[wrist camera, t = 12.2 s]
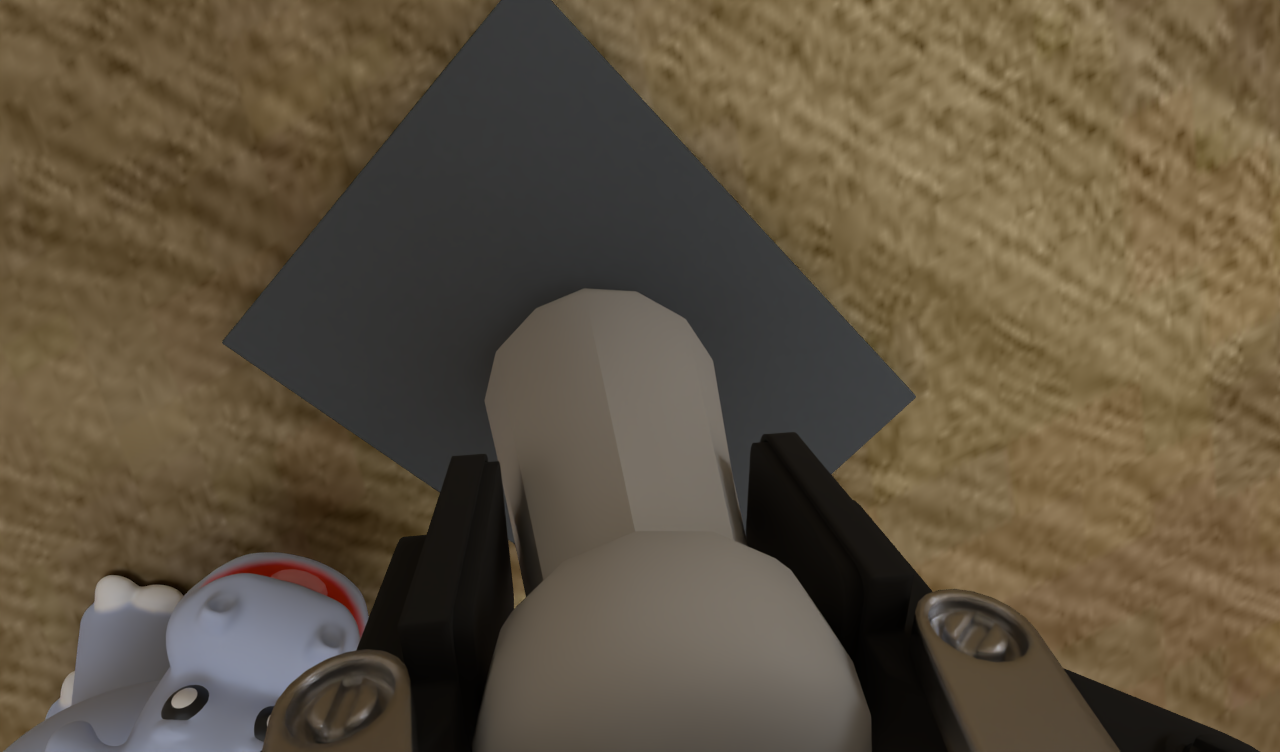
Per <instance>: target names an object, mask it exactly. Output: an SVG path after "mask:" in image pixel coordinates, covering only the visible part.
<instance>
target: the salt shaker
mask: <svg viewBox="0 0 1280 752" xmlns="http://www.w3.org/2000/svg"><path fill="white" fill-rule="evenodd" d="M484 401H485V406H486V410H487V414H488V419H489V423H490V427H491V432H492V436H493V441H494V445H495V449H496V454H497V459H498V461H499V462H500V467H501V476H502V483H503V488H504V493H505V497H506V502H507V507H508V512H509V517H510V522H511V526H512V531H513V536H514V541H515V546H516V550H517V555H518V560H519V565H520V570H521V574H522V579H523V584H524V589H525V594H526V598H525V599H524V600H523V601H522V602H521V603H520V604H519V605H518V606H517V607H516V608H515V609H514V610H513V611H512V612H511V613H510V615H509V617H508V618H507V620H506V621H505V623H504V625H503V626H502V628H501V629H500V633H499V636H498V640H497V643H496V647H495V650H494V654H493V657H492V661H491V664H490V668H489V671H488V675H487V678H486V682H485V685H484V690H483V696H482V701H481V704H480V708H479V711H478V716H477V721H476V726H475V731H474V736H473V741H472V752H872V739H871V714H870V711H869V708H868V705H867V702H866V699H865V696H864V693H863V690H862V687H861V685H860V682H859V679H858V676H857V673H856V670H855V667H854V664H853V661H852V660H851V658H850V657H849V655H848V654H847V652H846V650H845V649H844V647H843V646H842V644H841V643H840V641H839V640H838V638H837V636H836V635H835V633H834V632H833V630H832V629H831V627H830V626H829V624H828V622H827V621H826V619H825V618H824V617H823V615H822V614H821V612H820V611H819V609H818V608H817V607H816V605H815V604H814V602H813V601H812V599H811V598H810V597H809V595H808V594H807V592H806V591H805V589H804V588H803V586H802V585H801V584H800V582H799V581H798V579H797V578H796V576H795V575H794V574H793V572H792V571H791V570H790V569H789V568H787V567H786V566H785V565H783V564H782V563H781V562H779V561H778V560H777V559H775V558H773V557H771V556H769V555H766V554H764V553H762V552H759V551H757V550H755V549H753V548H750V547H748V544H747V540H746V535H745V530H744V526H743V521H742V517H741V512H740V507H739V503H738V498H737V493H736V489H735V484H734V480H733V475H732V470H731V464H730V458H729V452H728V446H727V440H726V434H725V428H724V422H723V417H722V411H721V405H720V399H719V393H718V387H717V381H716V375H715V369H714V363H713V360H712V358H711V357H710V355H709V354H708V352H707V350H706V349H705V347H704V346H703V344H702V343H701V341H700V340H699V338H698V337H697V335H696V334H695V332H694V331H693V329H692V328H691V326H690V325H689V323H688V322H687V320H686V319H685V318H683V317H681V316H680V315H678V314H676V313H674V312H672V311H671V310H669V309H667V308H665V307H663V306H662V305H660V304H658V303H656V302H654V301H653V300H651V299H649V298H647V297H645V296H644V295H642V294H640V293H638V292H636V291H621V290H604V289H586V288H584V289H581V290H579V291H576V292H574V293H571V294H569V295H567V296H564V297H562V298H559V299H557V300H555V301H552V302H550V303H547V304H545V305H543V306H540V307H538V308H536V309H535V310H534V311H533V312H532V313H531V314H530V315H529V316H528V317H527V318H526V320H525V321H524V322H523V323H522V324H521V325H520V326H519V327H518V328H517V329H516V330H515V331H514V333H513V334H512V335H511V336H510V337H509V338H508V339H507V340H506V341H505V342H504V343H503V344H502V346H501V347H500V348H499V349H498V350H497V351H496V354H495V358H494V362H493V366H492V371H491V375H490V379H489V383H488V388H487V392H486V396H485V400H484Z"/></svg>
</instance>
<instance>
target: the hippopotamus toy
mask: <svg viewBox="0 0 1280 752" xmlns="http://www.w3.org/2000/svg"><path fill="white" fill-rule="evenodd" d="M368 618H369V617H368V611H367V606H366V603H365V600H364V597H363V595H362V594H361V592H360V590H359V589H358V588H357V587H356V586H355V585H354V584H353V583H352V582H351V581H350V580H349V579H348V578H347V577H345V576H344V575H343V574H341V573H340V572H338V571H336V570H335V569H333V568H331V567H329V566H327V565H325V564H323V563H320V562H318V561H315V560H312V559H309V558H306V557H302V556H297V555H292V554H286V553H277V552H262V553H252V554H247V555H244V556H241V557H238V558H236V559H233V560H231V561H229V562H227V563H226V564H224V565H222V566H220V567H219V568H217V569H215V570H214V571H213V572H211V573H210V574H209V575H208V576H206V577H205V578H204V579H202V580H201V581H200V582H198V583H197V584H196V585H195V586H193V587H192V588H191V589H190V590H189V591H188V592H187V593H186V594H185V595H184V596H183V594H182V593H181V592H180V591H178V590H177V589H175V588H173V587H170V586H166V585H149V586H144V587H141V586H138V585H137V584H135V583H134V582H133V581H131V580H130V579H128V578H125V577H122V576H118V575H109V576H106V577H104V578H102V579H101V580H100V581H99V582H98V584H97V586H96V589H95V602H94V603H93V604H92V605H91V606H89V607H88V609H87V610H86V611H85V613H84V615H83V617H82V620H81V624H80V632H79V640H78V649H77V658H76V667H75V671H73V672H71V673H70V674H69V675H68V676H67V677H66V679H65V680H64V682H63V685H62V688H61V697H60V698H59V699H58V700H57V701H56V702H55V703H54V704H53V705H52V706H51V707H50V709H49V711H48V713H47V716H46V719H45V720H44V721H43V722H41V723H40V724H38V725H37V726H35V727H34V728H32V729H31V730H29V731H28V732H27V733H25V734H24V735H23V736H21V737H20V738H19V739H17V740H16V741H15V742H14V743H13V744H11V745H10V746H9V747H8V748H7V749H6V750H4V751H3V752H260V751H261V750H262V748H263V744H264V739H265V735H266V731H267V726H268V722H269V717H270V715H271V713H272V710H273V708H274V706H275V703H276V701H277V699H278V698H279V697H280V696H281V694H282V693H283V692H284V691H285V689H286V688H287V687H288V686H289V684H291V683H292V682H293V681H294V680H295V679H297V678H298V677H299V676H300V675H301V674H303V673H304V672H305V671H306V670H308V669H310V668H311V667H313V666H315V665H317V664H319V663H320V662H322V661H324V660H326V659H328V658H331V657H334V656H337V655H340V654H342V653H345V652H350V651H356V650H357V647H358V644H359V642H360V639H361V637H362V634H363V631H364V629H365V626H366V624H367V621H368Z"/></svg>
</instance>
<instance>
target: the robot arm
mask: <svg viewBox="0 0 1280 752" xmlns="http://www.w3.org/2000/svg"><path fill="white" fill-rule="evenodd" d="M746 540H747V544H748V547H750V548H753V549H755V550H757V551H759V552H762V553H764V554H766V555H769V556H771V557H773V558H775V559H777V560H778V561H779V562H781V563H782V564H783V565H785V566H786V567H787V568H789V569H790V570H791V571H792V572H793V574H794V575H795V576H796V578H797V579H798V581H799V582H800V584H801V585H802V586H803V588H804V589H805V591H806V592H807V594H808V595H809V597H810V598H811V599H812V601H813V602H814V604H815V605H816V607H817V608H818V609H819V611H820V612H821V614H822V615H823V617H824V618H825V619H826V621H827V622H828V624H829V626H830V627H831V629H832V630H833V632H834V633H835V635H836V636H837V638H838V640H839V641H840V643H841V644H842V646H843V647H844V649H845V650H846V652H847V654H848V655H849V657H850V658H851V660H852V661H853V664H854V667H855V670H856V673H857V676H858V679H859V682H860V685H861V687H862V690H863V693H864V696H865V699H866V702H867V705H868V708H869V711H870V714H871V739H872V752H1260V751H1258V750H1256V749H1255V748H1253V747H1252V746H1250V745H1248V744H1246V743H1244V742H1242V741H1240V740H1238V739H1236V738H1233V737H1231V736H1229V735H1227V734H1225V733H1223V732H1220V731H1218V730H1215V729H1213V728H1210V727H1208V726H1205V725H1203V724H1200V723H1198V722H1195V721H1193V720H1191V719H1188V718H1186V717H1183V716H1181V715H1178V714H1176V713H1173V712H1171V711H1168V710H1166V709H1163V708H1161V707H1158V706H1156V705H1153V704H1151V703H1148V702H1146V701H1143V700H1141V699H1138V698H1136V697H1133V696H1131V695H1128V694H1126V693H1123V692H1121V691H1118V690H1116V689H1114V688H1111V687H1109V686H1106V685H1104V684H1101V683H1099V682H1096V681H1094V680H1091V679H1089V678H1086V677H1084V676H1081V675H1079V674H1076V673H1074V672H1071V671H1069V670H1066V669H1064V668H1063V667H1062V666H1061V665H1060V663H1059V662H1058V660H1057V659H1056V657H1055V656H1054V654H1053V653H1052V651H1051V650H1050V649H1049V647H1048V646H1047V644H1046V643H1045V641H1044V640H1043V638H1042V637H1041V636H1040V634H1039V633H1038V631H1037V630H1036V629H1035V628H1034V627H1033V625H1032V624H1031V623H1030V622H1029V621H1028V620H1027V619H1026V618H1025V617H1024V616H1022V615H1021V614H1020V613H1018V612H1017V611H1016V610H1014V609H1013V608H1011V607H1010V606H1008V605H1006V604H1004V603H1002V602H1000V601H998V600H996V599H994V598H992V597H989V596H986V595H983V594H979V593H976V592H973V591H966V590H959V589H946V590H937V591H934V592H932V590H931V589H930V588H929V587H928V586H927V584H926V583H925V582H924V581H923V580H922V578H921V577H920V576H919V575H918V574H917V573H916V571H915V570H914V569H913V568H912V567H911V565H910V564H909V563H908V562H907V561H906V559H905V558H904V557H903V556H902V555H901V553H900V552H899V551H898V550H897V549H896V548H895V546H894V545H893V544H892V543H891V542H890V540H889V539H888V538H887V537H886V536H885V534H884V533H883V532H882V531H881V530H880V529H879V527H878V526H877V525H876V524H875V523H874V521H873V520H872V519H871V518H870V517H869V515H868V514H867V513H866V512H865V511H864V509H863V508H862V507H861V506H860V505H859V504H858V503H857V502H856V501H854V500H852V499H851V498H850V497H849V495H848V494H847V493H846V492H845V491H844V489H843V488H842V487H841V486H840V485H839V483H838V482H837V481H836V480H835V479H834V477H833V476H832V475H831V474H830V473H829V471H828V470H827V469H826V468H825V467H824V465H823V464H822V463H821V462H820V461H819V459H818V458H817V457H816V456H815V455H814V453H813V452H812V451H811V450H810V449H809V447H808V446H807V445H806V444H805V443H804V441H803V440H802V439H801V438H800V437H799V435H798V434H797V433H795V432H787V433H773V434H763V435H762V437H761V440H760V442H758V443H753V444H752V446H751V450H750V466H749V483H748V501H747V519H746ZM513 610H514V594H513V583H512V573H511V563H510V554H509V544H508V534H507V525H506V515H505V505H504V495H503V486H502V476H501V467H500V462H499V461H493V462H488V458H487V455H486V454H473V455H459V456H452V458H451V460H450V464H449V467H448V470H447V473H446V476H445V479H444V482H443V485H442V489H441V492H440V495H439V498H438V501H437V504H436V507H435V510H434V513H433V517H432V520H431V523H430V526H429V529H428V532H427V535H421V536H409V537H403V538H401V539H400V540H399V542H398V544H397V546H396V549H395V551H394V554H393V556H392V559H391V562H390V564H389V567H388V569H387V572H386V574H385V577H384V580H383V582H382V585H381V587H380V590H379V593H378V595H377V598H376V600H375V603H374V606H373V608H372V611H371V613H370V616H369V618H368V621H367V624H366V626H365V629H364V631H363V634H362V637H361V639H360V642H359V644H358V647H357V650H356V651H350V652H345V653H342V654H340V655H337V656H334V657H331V658H328V659H326V660H324V661H322V662H320V663H319V664H317V665H315V666H313V667H311V668H310V669H308V670H306V671H305V672H304V673H303V674H301V675H300V676H299V677H298V678H297V679H295V680H294V681H293V682H292V683H291V684H289V686H288V687H287V688H286V689H285V691H284V692H283V693H282V694H281V696H280V697H279V698H278V699H277V701H276V703H275V706H274V708H273V710H272V713H271V715H270V717H269V722H268V726H267V731H266V735H265V739H264V744H263V748H262V750H261V751H260V752H472V741H473V736H474V731H475V726H476V721H477V716H478V711H479V708H480V704H481V701H482V696H483V690H484V685H485V682H486V678H487V675H488V671H489V668H490V664H491V661H492V657H493V654H494V650H495V647H496V643H497V640H498V636H499V633H500V629H501V628H502V626H503V625H504V623H505V621H506V620H507V618H508V617H509V615H510V613H511V612H512V611H513Z"/></svg>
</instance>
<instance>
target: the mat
mask: <svg viewBox="0 0 1280 752" xmlns="http://www.w3.org/2000/svg"><path fill="white" fill-rule="evenodd" d="M584 288H586V289H604V290H621V291H636V292H638V293H640V294H642V295H644V296H645V297H647V298H649V299H651V300H653V301H654V302H656V303H658V304H660V305H662V306H663V307H665V308H667V309H669V310H671V311H672V312H674V313H676V314H678V315H680V316H681V317H683V318H685V319H686V320H687V322H688V323H689V325H690V326H691V328H692V329H693V331H694V332H695V334H696V335H697V337H698V338H699V340H700V341H701V343H702V344H703V346H704V347H705V349H706V350H707V352H708V354H709V355H710V357H711V358H712V360H713V363H714V369H715V375H716V381H717V387H718V393H719V399H720V405H721V411H722V417H723V422H724V428H725V434H726V440H727V446H728V452H729V458H730V464H731V470H732V475H733V480H734V484H735V489H736V493H737V498H738V503H739V507H740V512H741V517H742V521H743V526H744V530H745V535H746V519H747V501H748V483H749V466H750V450H751V446H752V444H753V443H758V442H760V440H761V437H762V435H763V434H773V433H787V432H795V433H797V434H798V435H799V437H800V438H801V439H802V440H803V441H804V443H805V444H806V445H807V446H808V447H809V449H810V450H811V451H812V452H813V453H814V455H815V456H816V457H817V458H818V459H819V461H820V462H821V463H822V464H823V465H824V467H825V468H826V469H827V470H828V471H829V473H830V474H832V473H833V472H834V471H835V470H837V469H838V468H839V467H840V466H841V465H842V464H843V463H844V462H845V461H846V460H848V459H849V458H850V457H851V456H852V455H853V454H854V453H855V452H856V451H857V450H859V449H860V448H861V447H862V446H863V445H864V444H865V443H866V442H867V441H868V440H870V439H871V438H872V437H873V436H874V435H875V434H876V433H877V432H878V431H879V430H881V429H882V428H883V427H884V426H885V425H886V424H887V423H888V422H889V421H890V420H892V419H893V418H894V417H895V416H896V415H897V414H898V413H899V412H900V411H902V410H903V409H904V408H905V407H906V406H907V405H908V404H909V403H910V402H911V401H913V400H914V399H915V398H916V396H915V394H914V393H913V392H912V391H911V390H910V389H909V388H908V387H907V386H906V385H905V384H904V383H903V381H902V380H901V379H900V378H899V377H898V376H897V375H896V374H895V373H894V372H893V371H892V370H891V368H890V367H889V366H888V365H887V364H886V363H885V362H884V361H883V360H882V359H881V358H880V357H879V355H878V354H877V353H876V352H875V351H874V350H873V349H872V348H871V347H870V346H869V345H868V343H867V342H866V341H865V340H864V339H863V338H862V337H861V336H860V335H859V334H858V333H857V332H856V330H855V329H854V328H853V327H852V326H851V325H850V324H849V323H848V322H847V321H846V320H845V319H844V317H843V316H842V315H841V314H840V313H839V312H838V311H837V310H836V309H835V308H834V307H833V306H832V304H831V303H830V302H829V301H828V300H827V299H826V298H825V297H824V296H823V295H822V294H821V293H820V291H819V290H818V289H817V288H816V287H815V286H814V285H813V284H812V283H811V282H810V281H809V280H808V278H807V277H806V276H805V275H804V274H803V273H802V272H801V271H800V270H799V269H798V268H797V267H796V265H795V264H794V263H793V262H792V261H791V260H790V259H789V258H788V257H787V256H786V255H785V254H784V252H783V251H782V250H781V249H780V248H779V247H778V246H777V245H776V244H775V243H774V242H773V240H772V239H771V238H770V237H769V236H768V235H767V234H766V233H765V232H764V231H763V230H762V229H761V227H760V226H759V225H758V224H757V223H756V222H755V221H754V220H753V219H752V218H751V217H750V216H749V214H748V213H747V212H746V211H745V210H744V209H743V208H742V207H741V206H740V205H739V204H738V203H737V201H736V200H735V199H734V198H733V197H732V196H731V195H730V194H729V193H728V192H727V191H726V190H725V188H724V187H723V186H722V185H721V184H720V183H719V182H718V181H717V180H716V179H715V178H714V177H713V175H712V174H711V173H710V172H709V171H708V170H707V169H706V168H705V167H704V166H703V165H702V164H701V162H700V161H699V160H698V159H697V158H696V157H695V156H694V155H693V154H692V153H691V152H690V151H689V149H688V148H687V147H686V146H685V145H684V144H683V143H682V142H681V141H680V140H679V139H678V138H677V136H676V135H675V134H674V133H673V132H672V131H671V130H670V129H669V128H668V127H667V126H666V124H665V123H664V122H663V121H662V120H661V119H660V118H659V117H658V116H657V115H656V114H655V113H654V111H653V110H652V109H651V108H650V107H649V106H648V105H647V104H646V103H645V102H644V101H643V100H642V98H641V97H640V96H639V95H638V94H637V93H636V92H635V91H634V90H633V89H632V88H631V87H630V85H629V84H628V83H627V82H626V81H625V80H624V79H623V78H622V77H621V76H620V75H619V74H618V72H617V71H616V70H615V69H614V68H613V67H612V66H611V65H610V64H609V63H608V62H607V61H606V59H605V58H604V57H603V56H602V55H601V54H600V53H599V52H598V51H597V50H596V49H595V48H594V46H593V45H592V44H591V43H590V42H589V41H588V40H587V39H586V38H585V37H584V36H583V35H582V33H581V32H580V31H579V30H578V29H577V28H576V27H575V26H574V25H573V24H572V23H571V21H570V20H569V19H568V18H567V17H566V16H565V15H564V14H563V13H562V12H561V11H560V10H559V8H558V7H557V6H556V5H555V4H554V3H553V2H552V1H551V0H501V1H500V2H499V3H498V4H497V6H496V7H495V8H494V9H493V10H492V12H491V13H490V14H489V15H488V17H487V18H486V19H485V20H484V21H483V23H482V24H481V25H480V26H479V28H478V29H477V30H476V31H475V32H474V34H473V35H472V36H471V37H470V39H469V40H468V41H467V42H466V43H465V45H464V46H463V47H462V48H461V50H460V51H459V52H458V53H457V55H456V56H455V57H454V58H453V59H452V61H451V62H450V63H449V64H448V66H447V67H446V68H445V69H444V70H443V72H442V73H441V74H440V75H439V77H438V78H437V79H436V80H435V81H434V83H433V84H432V85H431V86H430V88H429V89H428V90H427V91H426V92H425V94H424V95H423V96H422V97H421V99H420V100H419V101H418V102H417V103H416V105H415V106H414V107H413V108H412V110H411V111H410V112H409V113H408V115H407V116H406V117H405V118H404V119H403V121H402V122H401V123H400V124H399V126H398V127H397V128H396V129H395V130H394V132H393V133H392V134H391V135H390V137H389V138H388V139H387V140H386V141H385V143H384V144H383V145H382V146H381V148H380V149H379V150H378V151H377V152H376V154H375V155H374V156H373V157H372V159H371V160H370V161H369V162H368V163H367V165H366V166H365V167H364V168H363V170H362V171H361V172H360V173H359V174H358V176H357V177H356V178H355V179H354V181H353V182H352V183H351V184H350V186H349V187H348V188H347V189H346V190H345V192H344V193H343V194H342V195H341V197H340V198H339V199H338V200H337V201H336V203H335V204H334V205H333V206H332V208H331V209H330V210H329V211H328V212H327V214H326V215H325V216H324V217H323V219H322V220H321V221H320V222H319V223H318V225H317V226H316V227H315V228H314V230H313V231H312V232H311V233H310V234H309V236H308V237H307V238H306V239H305V241H304V242H303V243H302V244H301V246H300V247H299V248H298V249H297V250H296V252H295V253H294V254H293V255H292V257H291V258H290V259H289V260H288V261H287V263H286V264H285V265H284V266H283V268H282V269H281V270H280V271H279V272H278V274H277V275H276V276H275V277H274V279H273V280H272V281H271V282H270V283H269V285H268V286H267V287H266V288H265V290H264V291H263V292H262V293H261V294H260V296H259V297H258V298H257V299H256V301H255V302H254V303H253V304H252V306H251V307H250V308H249V309H248V310H247V312H246V313H245V314H244V315H243V317H242V318H241V319H240V320H239V321H238V323H237V324H236V325H235V326H234V328H233V329H232V330H231V331H230V332H229V334H228V335H227V336H226V337H225V339H224V340H223V342H222V343H223V344H224V345H225V346H227V347H228V348H230V349H231V350H233V351H234V352H236V353H237V354H239V355H240V356H241V357H243V358H244V359H246V360H247V361H249V362H250V363H252V364H253V365H255V366H256V367H258V368H259V369H260V370H262V371H263V372H265V373H266V374H268V375H269V376H271V377H272V378H274V379H275V380H276V381H278V382H279V383H281V384H282V385H284V386H285V387H287V388H288V389H290V390H291V391H293V392H294V393H295V394H297V395H298V396H300V397H301V398H303V399H304V400H306V401H307V402H309V403H310V404H311V405H313V406H314V407H316V408H317V409H319V410H320V411H322V412H323V413H325V414H326V415H327V416H329V417H330V418H332V419H333V420H335V421H336V422H338V423H339V424H341V425H342V426H344V427H345V428H346V429H348V430H349V431H351V432H352V433H354V434H355V435H357V436H358V437H360V438H361V439H362V440H364V441H365V442H367V443H368V444H370V445H371V446H373V447H374V448H376V449H377V450H379V451H380V452H381V453H383V454H384V455H386V456H387V457H389V458H390V459H392V460H393V461H395V462H396V463H397V464H399V465H400V466H402V467H403V468H405V469H406V470H408V471H409V472H411V473H412V474H413V475H415V476H416V477H418V478H419V479H421V480H422V481H424V482H425V483H427V484H428V485H430V486H431V487H432V488H434V489H435V490H437V491H438V492H441V489H442V485H443V482H444V479H445V476H446V473H447V470H448V467H449V464H450V460H451V458H452V456H459V455H473V454H486V455H487V458H488V462H493V461H498V459H497V454H496V449H495V445H494V441H493V436H492V432H491V427H490V423H489V419H488V414H487V410H486V406H485V401H484V400H485V396H486V392H487V388H488V383H489V379H490V375H491V371H492V366H493V362H494V358H495V354H496V351H497V350H498V349H499V348H500V347H501V346H502V344H503V343H504V342H505V341H506V340H507V339H508V338H509V337H510V336H511V335H512V334H513V333H514V331H515V330H516V329H517V328H518V327H519V326H520V325H521V324H522V323H523V322H524V321H525V320H526V318H527V317H528V316H529V315H530V314H531V313H532V312H533V311H534V310H535V309H536V308H538V307H540V306H543V305H545V304H547V303H550V302H552V301H555V300H557V299H559V298H562V297H564V296H567V295H569V294H571V293H574V292H576V291H579V290H581V289H584ZM502 486H503V483H502ZM503 495H504V505H505V515H506V525H507V534H508V540H510V541H511V542H513V543H514V544H515V541H514V536H513V531H512V526H511V522H510V517H509V512H508V507H507V502H506V497H505V493H504V488H503Z"/></svg>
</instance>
